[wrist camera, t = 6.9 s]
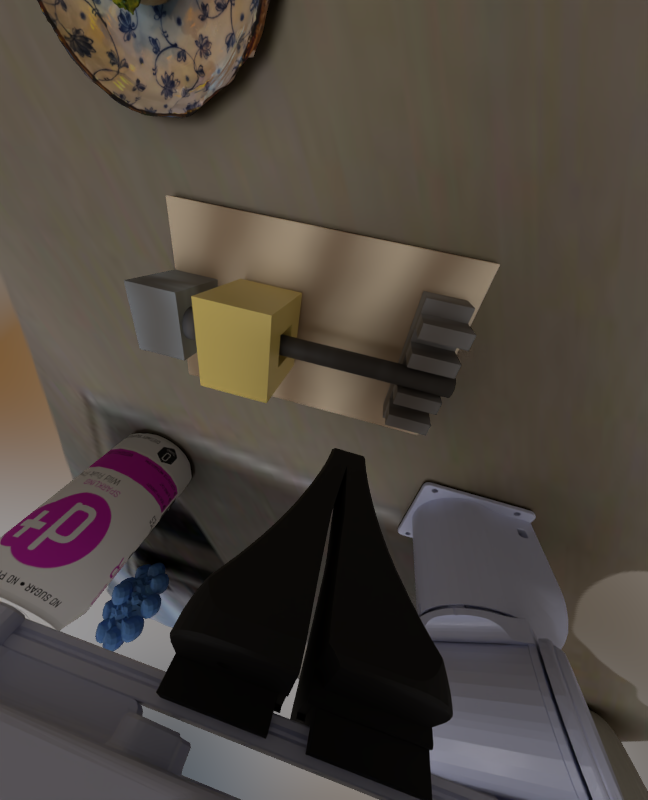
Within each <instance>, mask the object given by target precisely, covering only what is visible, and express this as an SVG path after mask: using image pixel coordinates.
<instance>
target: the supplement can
mask: <svg viewBox="0 0 648 800" xmlns="http://www.w3.org/2000/svg"><path fill="white" fill-rule="evenodd" d="M191 478H192V475H191V469H190V463H189V461H188V459H187V457H186V455H185V454H184V453H183V452H182V451H181V450H180V449H179V448H178V447H177V446H176V445H174V444H173V443H172V442H170V441H169V440H167V439H165V438H163V437H160V436H158V435H154V434H149V433H146V434H142V433H137V434H130V435H129V436H128V437H127V438H125V439H124V440H123V441H122V442H120V443H119V444H118V445H116V446H115V447H114V448H113V449H111V450H110V451H109V452H108V453H106V454H105V455H104V456H103V457H101V458H100V459H99V460H98V461H96V462H95V463H94V464H93V465H91V466H90V467H89V468H88V469H86V470H85V471H84V472H82V473H81V474H80V475H79V476H77V477H76V478H75V479H74V480H72V481H71V482H70V483H69V484H67V485H66V486H65V487H64V488H62V489H61V490H60V491H59V492H58V493H56V494H55V495H54V496H52V497H51V498H50V499H48V500H47V501H46V502H45V503H43V504H42V505H41V506H40V507H38V508H37V509H36V510H35V511H33V512H32V513H31V514H30V515H28V516H27V517H26V518H25V519H23V520H22V521H21V522H20V523H18V524H17V525H16V526H14V527H13V528H12V529H11V530H10V531H8V532H7V533H6V534H4V535H3V536H2V537H1V538H0V601H1V602H3V603H6V604H8V605H10V606H12V607H14V608H16V609H17V610H19V611H20V612H21V613H23V614H24V615H25V618H26V619H29V620H32V621H34V622H37V623H39V624H42V625H45V626H47V627H50V628H52V629H55V630H58V631H60V630H61V629H62V628H64V627H65V626H67V625H68V624H70V623H71V622H73V621H74V620H76V619H77V618H79V617H80V616H82V615H83V614H85V613H86V612H87V610H88V609H89V608H90V607H91V605H92V604H93V603H94V602H95V601H96V599H97V598H98V597H99V596H100V594H101V593H102V592H103V591H104V589H105V588H106V587H107V586H108V584H109V583H110V582H111V581H112V579H113V578H114V577H115V575H116V574H117V573H118V572H119V570H120V569H121V568H122V567H123V565H124V564H125V563H126V562H127V560H128V559H129V558H130V557H131V555H132V554H133V553H134V552H135V550H136V549H137V548H138V547H139V545H140V544H141V543H142V542H143V540H144V539H145V538H146V537H147V535H148V534H149V533H150V532H151V530H152V529H153V528H154V527H155V525H156V524H157V523H158V521H159V520H160V519H161V518H162V516H163V515H164V514H165V513H166V511H167V510H168V509H169V508H170V506H171V505H172V504H173V503H174V501H175V500H176V499H177V498H178V496H179V495H180V494H181V493H182V491H183V490H184V489H185V488H186V486H187V485H188V484H189V482H190V480H191Z"/></svg>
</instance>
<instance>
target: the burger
mask: <svg viewBox="0 0 648 800" xmlns="http://www.w3.org/2000/svg"><path fill="white" fill-rule="evenodd" d="M37 1H38V2H39V5H40V7H41V9H42V11H43V14H44V15H45V16H46V18H47V21H48V22H49V23H50V24H51V25H52V27H53V29H54V31H55V33H56V34H57V36H58V38H59V40H60V42H61V43H62V44H63V46H64V47H65V49H66V50H67V52H68V54H69V55H70V56H71V58H72V59H73V60H74V61H75V62H76V64H77V65H78V66H79V67H80V68H81V69H82V71H83V72H84V74H85V75H86V76H87V77H88V78H89V79H90V80H92V81H93V82H94V83H95V84H97V85H98V86H99V87H100V88H102V89H103V90H104V91H105V92H106V93H107V94H108V95H110V96H111V97H112V98H113V99H114V100H115V101H117V102H118V103H119V104H121V105H123V106H125V107H127V108H129V109H131V110H134V111H136V112H139V113H141V114H144V115H149V116H162V117H176V118H183V117H189V116H190V115H192V114H193V113H195V112H196V111H197V110H198V109H199V108H202V106H203V105H204V104H205V103H206V102H207V101H208V100H210V99H211V98H212V97H213V96H214V95H216V94H217V93H218V92H219V91H220V90H221V89H223V88H225V87H226V86H228V85H229V84H230V83H231V82H232V81H233V80H234V79H235V77H236V74H237V72H238V70H239V69H240V68H241V66H242V65H243V64H244V63H245V61H246V60H247V59H248V57H254V54H255V51H256V48H257V45H258V43H259V40H260V38H261V36H262V33H263V28H264V24H265V19H266V14H267V10H268V6H269V2H270V0H37Z"/></svg>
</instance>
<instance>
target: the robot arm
mask: <svg viewBox="0 0 648 800" xmlns="http://www.w3.org/2000/svg"><path fill="white" fill-rule="evenodd" d="M333 507H334V508H333ZM332 510H333V515H332V522H331V530H330V537H329V544H328V552H327V559H326V565H325V570H324V575H323V579H322V584H321V588H320V593H319V597H318V602H317V606H316V610H315V615H314V619H313V624H312V628H311V632H310V637H309V641H308V645H307V650H306V654H305V658H304V662H303V667H302V671H301V675H300V679H299V684H298V688H297V692H296V697H295V700H294V704H293V709H292V713H291V718H290V719H287V718H285V717H282V716H280V715H277V714H274V713H273V711H276V712H278V713H280V710H281V706H282V704H283V702H284V700H285V698H286V696H288V695H289V693H290V691H291V689H292V687H293V685H294V683H295V681H296V679H297V677H298V675H299V672H300V668H301V664H302V659H303V654H304V650H305V645H306V640H307V635H308V629H309V624H310V618H311V613H312V608H313V602H314V597H315V592H316V586H317V581H318V576H319V571H320V566H321V561H322V556H323V551H324V546H325V541H326V536H327V531H328V527H329V522H330V517H331V513H332ZM535 518H536V516H535V514H534V512H532V511H530V510H526V509H523V508H519V507H516V506H512V505H509V504H505V503H501V502H498V501H494V500H491V499H487V498H484V497H480V496H477V495H473V494H470V493H466V492H463V491H459V490H455V489H452V488H448V487H445V486H441V485H438V484H434V483H431V482H426V483H424V484H423V486H422V487H421V489H420V491H419V493H418V494H417V496H416V498H415V499H414V501H413V503H412V505H411V506H410V508H409V510H408V512H407V513H406V515H405V517H404V519H403V520H402V522H401V524H400V525H399V527H398V533H399V534H401V535H404V536H408V537H411V538H413V550H414V569H415V587H416V605H417V611H416V610H415V608H414V606H413V604H412V602H411V600H410V598H409V596H408V594H407V592H406V589H405V587H404V585H403V583H402V581H401V579H400V577H399V575H398V573H397V570H396V568H395V566H394V563H393V561H392V559H391V556H390V554H389V551H388V549H387V546H386V543H385V541H384V538H383V535H382V532H381V529H380V526H379V523H378V520H377V517H376V513H375V510H374V506H373V502H372V498H371V494H370V490H369V485H368V479H367V473H366V465H365V458H364V457H363V456H361V455H357V454H354V453H350V452H347V451H343V450H340V449H337V448H334V449H332V451H331V454H330V456H329V458H328V460H327V462H326V463H325V465H324V467H323V468H322V470H321V471H320V473H319V474H318V475H317V477H316V478H315V480H314V481H313V482H312V484H311V485H310V486H309V487H308V489H307V490H306V491H305V492H304V493H303V495H302V496H301V497H300V498H299V499H298V500H297V502H296V503H295V504H294V505H293V506H292V507H291V508H290V509H289V510H288V511H287V512H286V513H285V514H284V515H283V516H282V517H281V518H280V519H279V520H278V521H277V522H276V523H275V524H274V525H273V526H272V527H271V528H270V529H269V530H267V531H266V532H265V533H264V534H263V535H262V536H261V537H259V538H258V539H257V540H256V541H255V542H253V543H252V544H251V545H250V546H248V547H247V548H246V549H245V550H244V551H242V552H241V553H240V554H239V555H237V556H236V557H235V558H233V559H232V560H230V561H229V562H228V563H226V564H225V565H224V566H222V567H221V568H219V569H218V570H217V571H215V572H214V573H213V574H211V575H210V576H209V577H208V578H207V579H206V580H205V581H204V583H203V584H202V585H201V586H200V587H199V588H198V590H197V591H196V592H195V593H194V595H193V596H192V597H191V599H190V600H189V602H188V603H187V605H186V606H185V608H184V609H183V611H182V612H181V614H180V616H179V618H178V620H177V621H176V623H175V625H174V627H173V629H172V630H171V632H170V639H171V643H172V645H173V647H174V649H175V652H176V654H175V656H174V658H173V660H172V662H171V664H170V666H169V668H168V670H167V672H165V671H162V670H159V669H157V668H154V667H152V666H149V665H146V664H144V663H141V662H138V661H136V660H133V659H131V658H128V657H126V656H123V655H120V654H118V653H115V652H113V651H110V650H107V649H105V648H102V647H99V646H97V645H94V644H92V643H89V642H86V641H84V640H81V639H79V638H76V637H73V636H71V635H68V634H65V633H63V632H60V631H58V630H55V629H52V628H50V627H47V626H45V625H42V624H39V623H37V622H34V621H32V620H29V619H26V618H25V615H24V614H23V613H21V612H20V611H19V610H17V609H16V608H14V607H12V606H10V605H8V604H6V603H3V602H1V601H0V800H241V799H238V798H236V797H233V796H231V795H229V794H226V793H224V792H221V791H219V790H216V789H214V788H212V787H209V786H207V785H204V784H202V783H199V782H197V781H195V780H192V779H190V778H187V777H185V776H182V775H181V773H182V769H183V766H184V763H185V761H186V758H187V756H188V753H189V751H190V748H191V747H190V743H189V742H187V741H186V740H184V739H182V738H181V737H180V734H179V733H178V732H175V731H173V730H171V729H169V728H166V727H164V726H162V725H160V724H158V723H156V722H153V721H151V720H149V719H147V718H145V717H142V713H143V710H142V706H141V705H143V706H145V707H148V708H150V709H153V710H155V711H158V712H161V713H163V714H166V715H168V716H170V717H173V718H176V719H178V720H181V721H183V722H186V723H188V724H191V725H193V726H196V727H198V728H201V729H203V730H206V731H208V732H211V733H213V734H216V735H218V736H221V737H224V738H226V739H228V740H231V741H233V742H236V743H238V744H241V745H244V746H246V747H249V748H251V749H253V750H256V751H259V752H261V753H264V754H266V755H269V756H271V757H274V758H276V759H279V760H281V761H284V762H286V763H289V764H291V765H294V766H296V767H299V768H301V769H304V770H306V771H309V772H311V773H314V774H316V775H319V776H321V777H324V778H327V779H329V780H332V781H334V782H337V783H339V784H342V785H344V786H347V787H349V788H352V789H354V790H357V791H359V792H362V793H364V794H367V795H370V796H372V797H374V798H377V799H379V800H624V798H623V795H622V793H621V790H620V787H619V785H618V782H617V779H616V777H615V774H614V772H613V769H612V766H611V764H610V761H609V759H608V756H607V754H606V751H605V749H604V746H603V744H602V741H601V738H600V736H599V733H598V731H597V728H596V726H595V723H594V721H593V719H592V716H591V714H590V711H589V709H588V706H587V704H586V701H585V699H584V696H583V694H582V692H581V689H580V687H579V684H578V682H577V679H576V677H575V675H574V672H573V670H572V668H571V665H570V663H569V661H568V659H567V656H566V654H565V653H564V652H563V651H562V650H561V648H562V647H563V645H564V643H565V641H566V638H567V634H568V615H567V609H566V604H565V600H564V597H563V594H562V592H561V589H560V587H559V585H558V583H557V581H556V578H555V576H554V574H553V572H552V569H551V567H550V565H549V563H548V561H547V558H546V556H545V554H544V552H543V550H542V547H541V545H540V543H539V541H538V538H537V536H536V534H535V532H534V530H533V527H532V525H531V522H532V521H533V520H534V519H535Z"/></svg>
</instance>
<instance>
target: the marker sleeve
mask: <svg viewBox="0 0 648 800" xmlns="http://www.w3.org/2000/svg"><path fill="white" fill-rule="evenodd" d="M191 299H192V308H193V318H194V327H195V336H196V346H197V355H198V364H199V374H200V383H201V386H205V387H209V388H212V389H216V390H220V391H223V392H227V393H231V394H235V395H238V396H242V397H246V398H249V399H253V400H257V401H260V402H264V403H267V402H268V401H269V399H270V398H271V396H272V395H273V394H274V392H275V391H276V389H277V388H278V387H279V385H280V384H281V383H282V381H283V380H284V378H285V377H286V376H287V374H288V373H289V371H290V370H291V369H292V367H293V366H294V359H293V358H289V357H285V356H281V355H279V348H280V335H281V334H283V335H287V336H291V337H295V338H297V333H298V325H299V316H300V307H301V299H302V293H300V292H296V291H292V290H287V289H283V288H279V287H274V286H270V285H266V284H261V283H257V282H253V281H248V280H244V279H238V280H235V281H233V282H230V283H227V284H224V285H221V286H218V287H216V288H213V289H210V290H207V291H204V292H202V293H199V294H196V295H193V296H191Z"/></svg>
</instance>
